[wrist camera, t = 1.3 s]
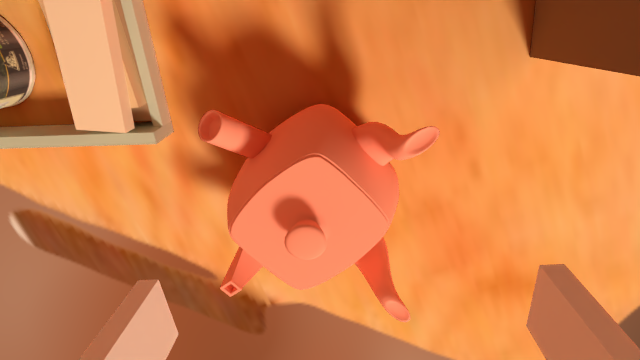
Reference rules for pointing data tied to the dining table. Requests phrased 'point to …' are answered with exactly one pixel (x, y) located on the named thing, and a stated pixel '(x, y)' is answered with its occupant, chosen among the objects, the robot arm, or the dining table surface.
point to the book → (588, 33)
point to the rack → (101, 78)
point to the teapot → (314, 197)
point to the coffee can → (14, 67)
